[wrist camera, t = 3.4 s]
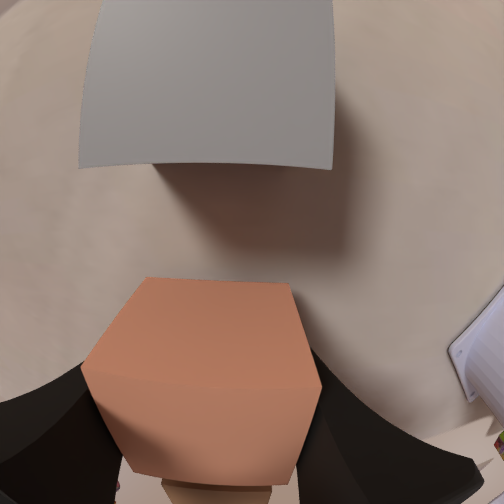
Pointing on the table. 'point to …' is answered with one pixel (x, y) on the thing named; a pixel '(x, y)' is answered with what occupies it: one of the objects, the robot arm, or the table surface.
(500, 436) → the snack box
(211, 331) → the terracotta block
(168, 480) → the walnut block
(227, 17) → the slate block
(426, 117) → the table surface
